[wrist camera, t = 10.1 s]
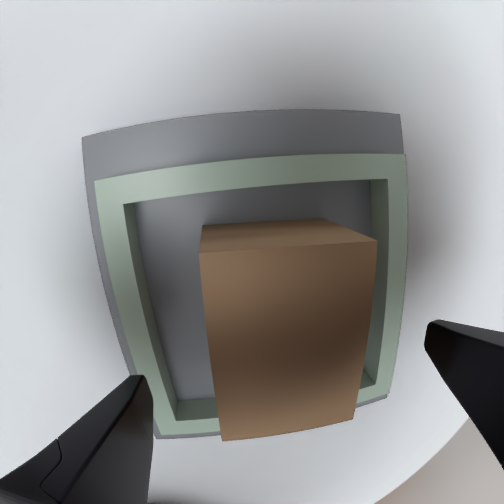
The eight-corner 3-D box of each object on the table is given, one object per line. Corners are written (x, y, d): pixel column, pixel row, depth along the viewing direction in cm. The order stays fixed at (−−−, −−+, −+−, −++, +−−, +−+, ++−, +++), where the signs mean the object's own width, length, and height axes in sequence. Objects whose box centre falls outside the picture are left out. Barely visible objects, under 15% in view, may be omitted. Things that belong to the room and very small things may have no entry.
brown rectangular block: (317, 360, 14) (352, 419, 10) (216, 372, 14) (222, 441, 9) (323, 218, 13) (377, 240, 8) (202, 225, 12) (198, 253, 8)
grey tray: (379, 388, 17) (397, 412, 15) (157, 427, 15) (153, 457, 13) (388, 117, 13) (418, 109, 10) (90, 139, 11) (66, 133, 9)
